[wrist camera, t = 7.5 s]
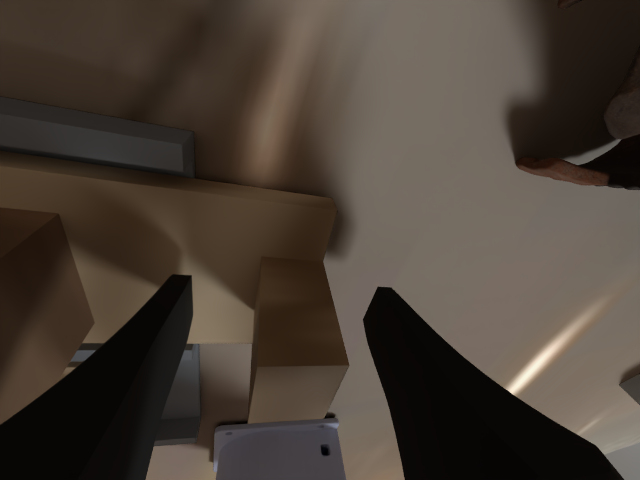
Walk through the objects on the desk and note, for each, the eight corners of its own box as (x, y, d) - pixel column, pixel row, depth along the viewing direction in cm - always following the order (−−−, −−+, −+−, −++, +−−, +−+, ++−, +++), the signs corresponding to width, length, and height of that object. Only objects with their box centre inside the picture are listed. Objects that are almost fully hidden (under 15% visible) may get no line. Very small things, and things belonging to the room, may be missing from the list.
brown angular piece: (332, 198, 10) (377, 305, 6) (297, 327, 14) (309, 448, 10) (-163, 127, 7) (-865, 252, 3) (-29, 321, 11) (-224, 497, 7)
